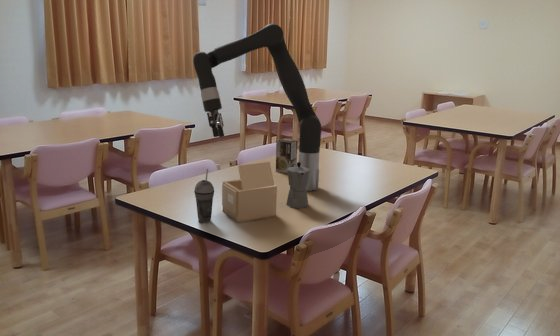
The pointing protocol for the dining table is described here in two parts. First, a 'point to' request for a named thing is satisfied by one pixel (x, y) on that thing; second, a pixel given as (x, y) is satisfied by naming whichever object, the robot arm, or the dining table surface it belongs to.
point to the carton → (248, 201)
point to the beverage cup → (204, 200)
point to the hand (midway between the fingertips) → (219, 136)
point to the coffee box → (285, 154)
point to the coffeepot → (297, 186)
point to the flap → (256, 175)
